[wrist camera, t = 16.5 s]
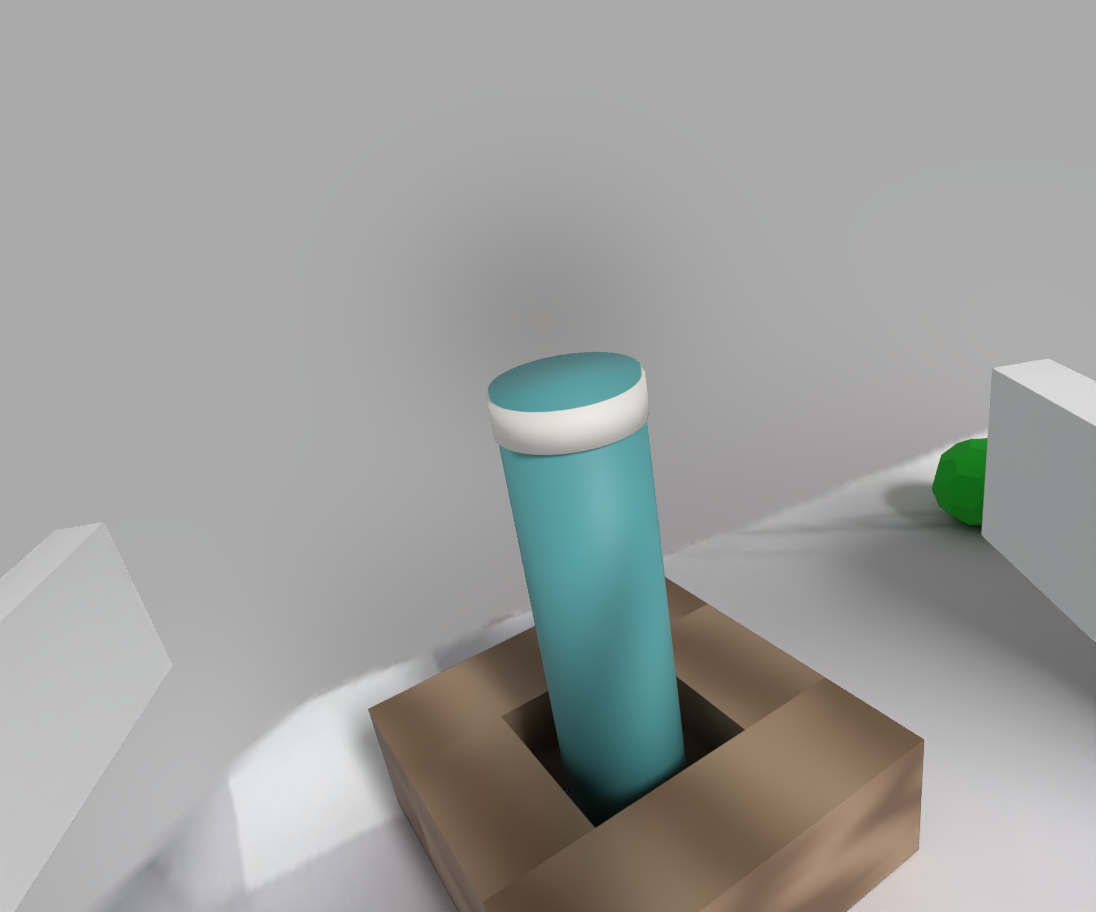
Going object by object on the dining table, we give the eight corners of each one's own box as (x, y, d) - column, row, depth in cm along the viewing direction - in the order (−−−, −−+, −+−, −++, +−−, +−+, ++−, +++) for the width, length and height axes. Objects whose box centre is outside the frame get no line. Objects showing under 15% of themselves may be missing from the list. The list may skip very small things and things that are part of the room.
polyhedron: (972, 491, 47) (977, 419, 45) (1050, 521, 43) (1059, 443, 41) (911, 517, 45) (914, 444, 44) (986, 551, 41) (993, 471, 39)
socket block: (661, 653, 38) (650, 568, 36) (918, 849, 26) (924, 739, 24) (398, 801, 32) (368, 709, 30) (582, 1137, 20) (553, 1022, 18)
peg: (644, 758, 32) (585, 342, 25) (721, 832, 28) (678, 367, 21) (552, 816, 30) (458, 384, 23) (621, 904, 26) (535, 420, 19)
